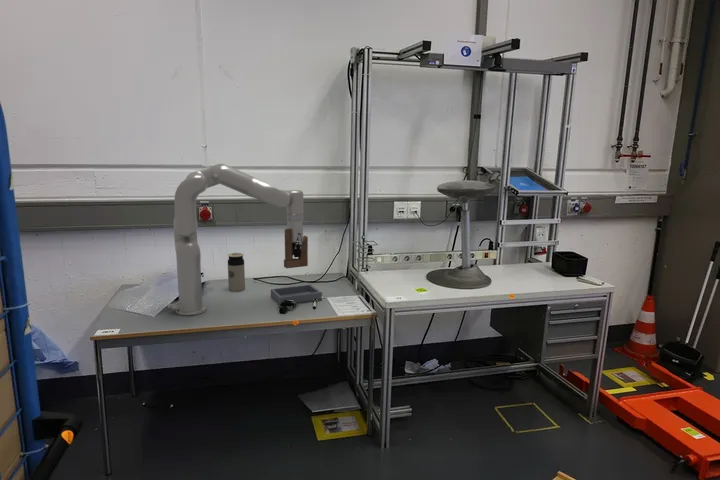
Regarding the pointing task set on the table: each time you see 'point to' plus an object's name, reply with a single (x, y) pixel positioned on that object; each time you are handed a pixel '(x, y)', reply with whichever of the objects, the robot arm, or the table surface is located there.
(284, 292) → the tray
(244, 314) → the table surface
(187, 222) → the robot arm
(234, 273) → the travel mug
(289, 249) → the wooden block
